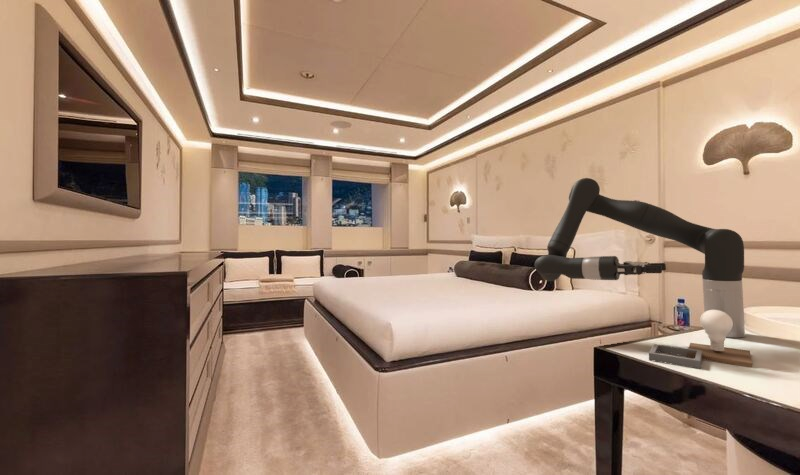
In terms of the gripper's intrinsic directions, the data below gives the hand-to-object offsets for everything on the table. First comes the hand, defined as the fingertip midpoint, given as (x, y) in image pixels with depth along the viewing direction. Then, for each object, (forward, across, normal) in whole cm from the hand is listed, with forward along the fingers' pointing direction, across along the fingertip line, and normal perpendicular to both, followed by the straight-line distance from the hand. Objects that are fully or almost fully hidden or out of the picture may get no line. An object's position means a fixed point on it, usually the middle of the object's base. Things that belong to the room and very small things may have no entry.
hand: (663, 267), depth 100 cm
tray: (+2, -11, +22) cm, 25 cm away
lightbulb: (+10, -2, +22) cm, 24 cm away
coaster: (+10, -2, +23) cm, 25 cm away
